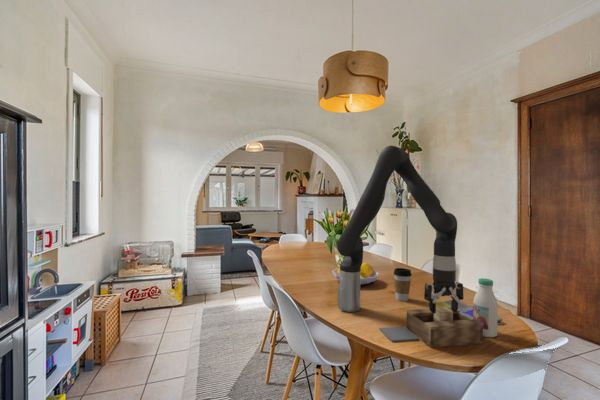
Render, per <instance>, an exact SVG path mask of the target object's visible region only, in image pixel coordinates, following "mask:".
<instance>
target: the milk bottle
mask: <svg viewBox="0 0 600 400" xmlns="http://www.w3.org/2000/svg"><path fill="white" fill-rule="evenodd" d="M493 287H494V280H492V279H490V278H483V277H481V278H478V290H477V291H476V293H475V295H474V297H473V303H472V304H473V305H472V307H473V319H476V320H478V321H480V322H482V323H483V337H486V338H495V337H496V336H497V335H498V325H497V317H499V316H498V312H499V311H498V308H499V307H498V300H497V297H496V295H495V294H494V289H493Z"/></svg>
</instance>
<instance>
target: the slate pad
mask: <svg viewBox="0 0 600 400" xmlns="http://www.w3.org/2000/svg"><path fill="white" fill-rule="evenodd" d="M378 329H379V331H380V332H381V333H382V334H383V335H384V336H385V337H386V338H387V339H388V340H389V342H391V343H396V342H399V343H400V342H409V341H410V342H411V341H412V342H413V341H419V338H418V337H417V336H416V335H414V334H413V333H412V332H411V331H410V330H408V329H407V327H405V326H401V325H399V326H387V327H379V328H378Z"/></svg>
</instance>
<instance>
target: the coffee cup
mask: <svg viewBox="0 0 600 400" xmlns="http://www.w3.org/2000/svg"><path fill="white" fill-rule="evenodd" d="M411 272H412V270H411V269H410V268H409V269H408V268H404V267H403V268H402V267H400V268H399V267H396V268H394V271H393V275H394V293H395V300H396V301H399V302H408V301H409V297H410V290H411V282H412V281H411V277H412V273H411Z"/></svg>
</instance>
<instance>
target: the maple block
mask: <svg viewBox="0 0 600 400" xmlns="http://www.w3.org/2000/svg"><path fill="white" fill-rule="evenodd" d="M440 321H453V311H451V310H449V309H448V308H446V307H436V313H434V322H440Z"/></svg>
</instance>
